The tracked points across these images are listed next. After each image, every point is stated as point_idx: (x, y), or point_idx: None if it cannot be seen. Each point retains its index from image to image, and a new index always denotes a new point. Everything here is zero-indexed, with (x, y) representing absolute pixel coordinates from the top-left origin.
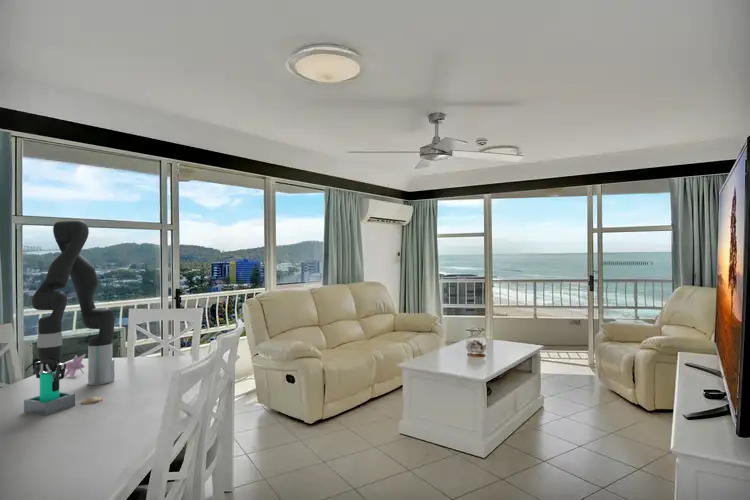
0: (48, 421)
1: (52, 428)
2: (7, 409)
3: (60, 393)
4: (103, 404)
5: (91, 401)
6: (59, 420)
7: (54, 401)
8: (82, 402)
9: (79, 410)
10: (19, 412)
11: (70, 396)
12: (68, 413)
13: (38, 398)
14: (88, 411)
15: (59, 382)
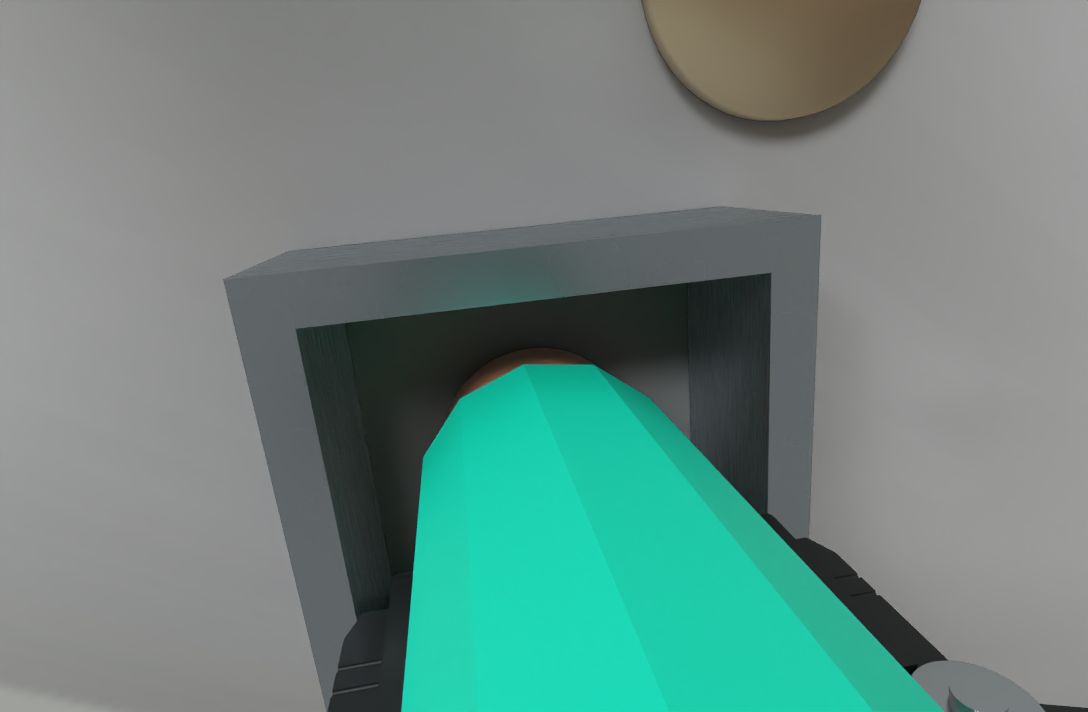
0: (904, 616)
1: (1082, 668)
2: (5, 678)
3: (493, 302)
4: (1055, 4)
5: (862, 23)
6: (983, 557)
7: None
8: (772, 115)
9: (935, 298)
10: (306, 649)
11: (802, 302)
12: (898, 413)
13: (355, 575)
14: (1065, 274)
15: (707, 504)
